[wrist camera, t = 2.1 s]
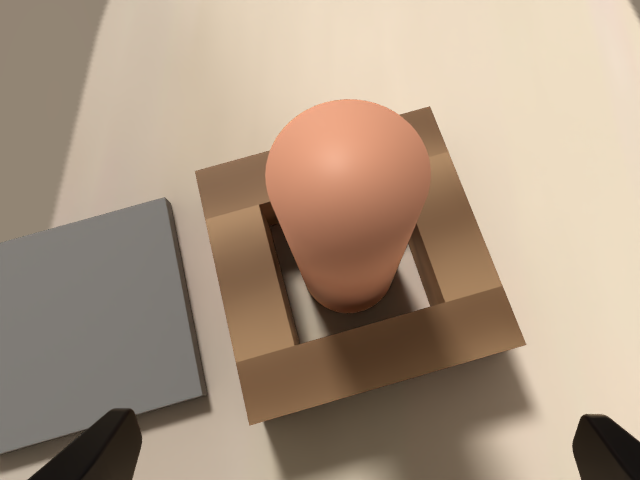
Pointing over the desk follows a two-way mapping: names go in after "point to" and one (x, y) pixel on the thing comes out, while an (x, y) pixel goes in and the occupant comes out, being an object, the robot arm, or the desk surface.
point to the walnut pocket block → (366, 341)
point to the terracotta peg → (348, 197)
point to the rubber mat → (94, 324)
